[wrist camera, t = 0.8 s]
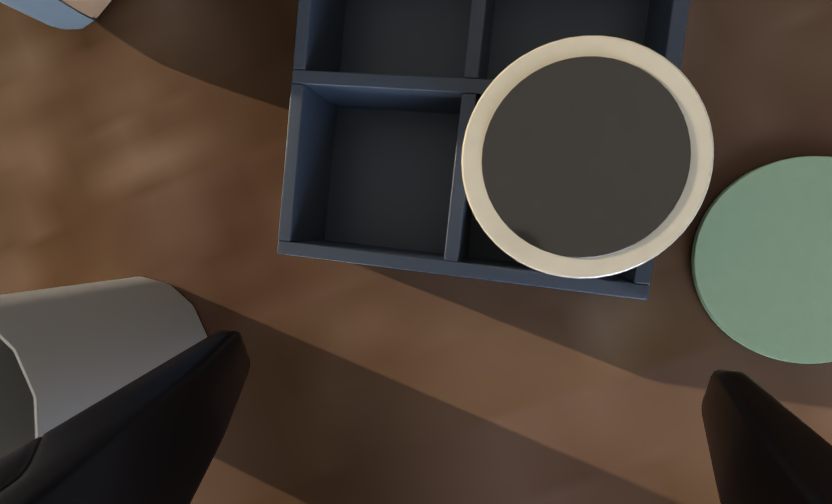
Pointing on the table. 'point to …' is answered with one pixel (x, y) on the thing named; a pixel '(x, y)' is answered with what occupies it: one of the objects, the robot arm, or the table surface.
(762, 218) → the coaster
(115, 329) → the cup
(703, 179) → the pen pot
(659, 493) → the table surface
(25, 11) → the blue rounded cube
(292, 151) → the organizer
